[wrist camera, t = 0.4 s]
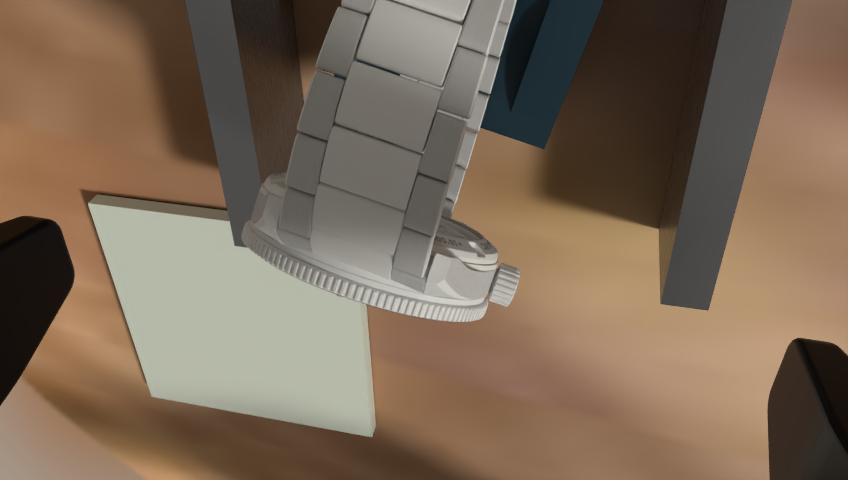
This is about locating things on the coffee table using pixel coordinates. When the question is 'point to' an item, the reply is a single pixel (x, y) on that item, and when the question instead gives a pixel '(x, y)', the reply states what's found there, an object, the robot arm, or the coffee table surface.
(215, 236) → the pad
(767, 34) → the grey u-shaped piece
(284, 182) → the watch
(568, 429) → the coffee table surface
